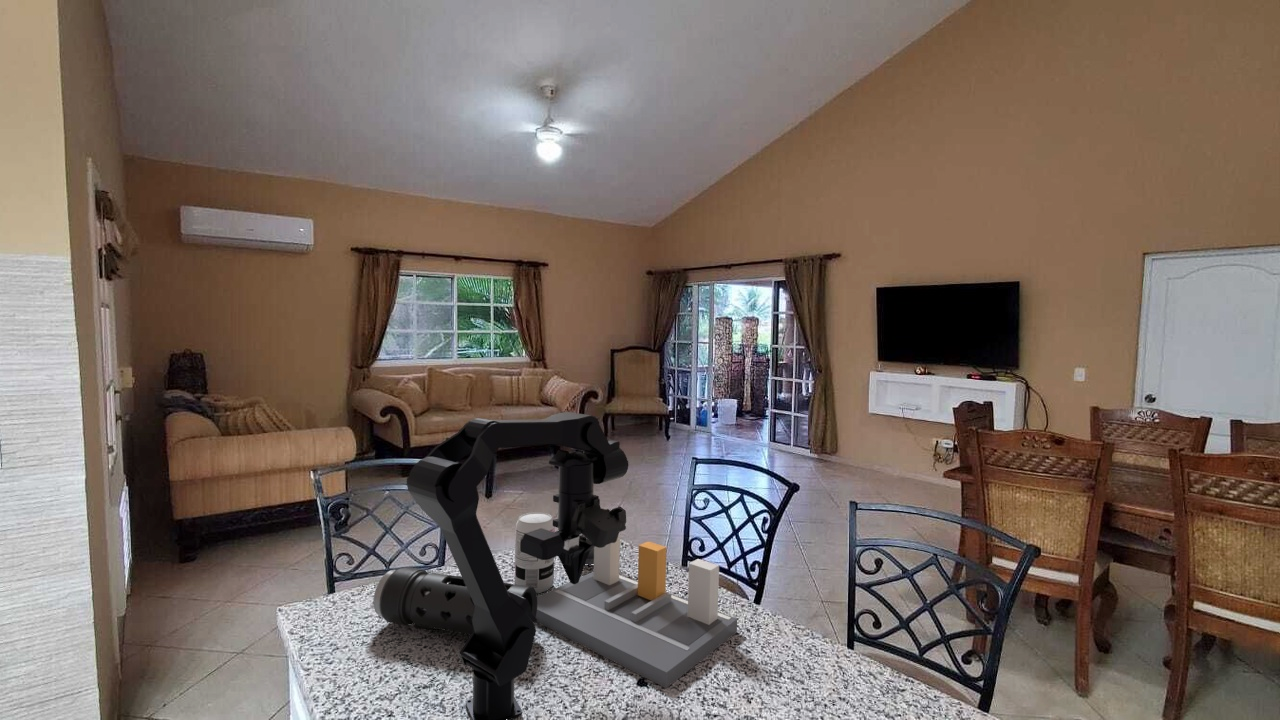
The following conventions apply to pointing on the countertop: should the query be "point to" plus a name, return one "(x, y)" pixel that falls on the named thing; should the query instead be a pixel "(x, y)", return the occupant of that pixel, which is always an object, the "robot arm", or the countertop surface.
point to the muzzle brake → (432, 600)
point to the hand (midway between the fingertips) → (574, 583)
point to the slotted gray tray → (639, 618)
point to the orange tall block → (651, 570)
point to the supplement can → (527, 566)
